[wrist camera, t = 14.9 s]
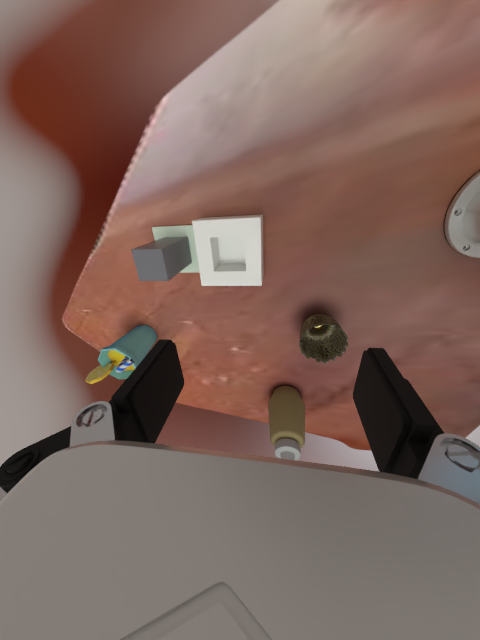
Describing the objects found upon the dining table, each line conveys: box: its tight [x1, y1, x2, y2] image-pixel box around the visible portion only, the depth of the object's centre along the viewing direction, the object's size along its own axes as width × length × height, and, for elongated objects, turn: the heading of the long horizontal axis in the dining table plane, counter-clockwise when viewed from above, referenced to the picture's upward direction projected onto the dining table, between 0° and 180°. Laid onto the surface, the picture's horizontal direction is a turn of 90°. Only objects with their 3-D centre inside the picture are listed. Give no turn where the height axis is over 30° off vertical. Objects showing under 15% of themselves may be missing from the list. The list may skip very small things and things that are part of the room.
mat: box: [152, 225, 200, 273], centre depth 40 cm, size 8×8×1 cm
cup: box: [85, 325, 157, 384], centre depth 44 cm, size 14×8×15 cm, turn 125°
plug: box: [131, 237, 192, 281], centre depth 35 cm, size 4×4×10 cm
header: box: [192, 215, 264, 286], centre depth 37 cm, size 10×10×5 cm
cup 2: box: [300, 314, 348, 363], centre depth 39 cm, size 8×7×8 cm
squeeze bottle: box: [268, 386, 305, 460], centre depth 46 cm, size 8×8×18 cm
